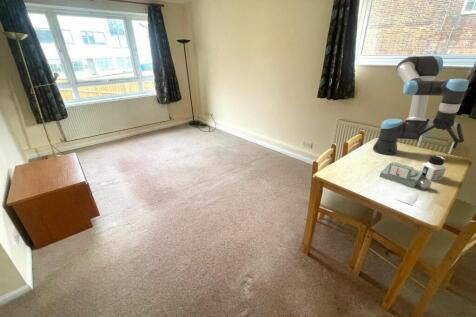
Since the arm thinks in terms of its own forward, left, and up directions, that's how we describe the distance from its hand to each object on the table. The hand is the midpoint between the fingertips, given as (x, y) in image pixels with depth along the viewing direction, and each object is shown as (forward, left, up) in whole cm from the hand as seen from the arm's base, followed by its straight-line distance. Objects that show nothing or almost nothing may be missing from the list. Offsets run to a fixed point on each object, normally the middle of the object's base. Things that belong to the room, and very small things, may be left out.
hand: (433, 149), depth 122 cm
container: (-4, +3, -18) cm, 19 cm away
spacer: (+12, +3, -18) cm, 22 cm away
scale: (+7, -9, -18) cm, 21 cm away
